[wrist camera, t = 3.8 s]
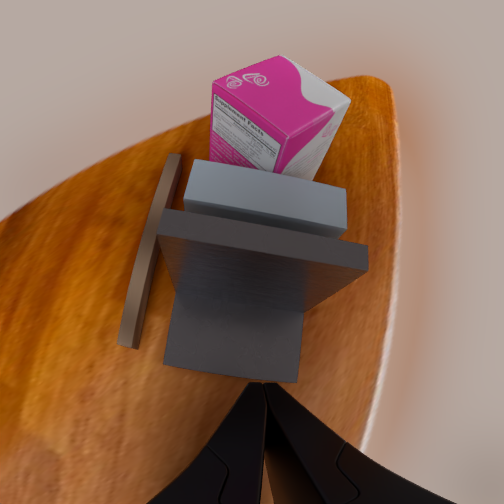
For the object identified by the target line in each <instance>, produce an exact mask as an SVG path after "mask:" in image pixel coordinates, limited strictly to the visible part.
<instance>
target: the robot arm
mask: <svg viewBox="0 0 504 504" xmlns="http://www.w3.org/2000/svg"><path fill="white" fill-rule="evenodd" d="M264 459H265V463H266V468H267V473H268V477H269V482H270V486H271V491H272V495H273V500H274V504H456V503H454V502H452V501H450V500H447V499H445V498H443V497H441V496H438V495H437V494H434V493H432V492H430V491H428V490H426V489H424V488H422V487H420V486H418V485H416V484H414V483H412V482H410V481H408V480H406V479H405V478H403V477H401V476H399V475H397V474H395V473H394V472H392V471H390V470H388V469H386V468H385V467H383V466H381V465H380V464H378V463H377V462H375V461H373V460H372V459H370V458H369V457H367V456H366V455H364V454H363V453H362V452H360V451H359V450H357V449H356V448H355V447H354V446H352V445H351V444H350V443H348V442H346V441H345V440H344V439H343V438H341V437H340V436H339V435H338V434H336V433H335V432H334V431H333V430H331V429H330V428H329V427H328V426H327V425H325V424H324V423H323V422H322V421H320V420H319V419H318V418H317V417H316V416H314V415H313V414H312V413H311V412H310V411H309V410H307V409H306V408H305V407H304V406H303V405H301V404H300V403H299V402H298V401H297V400H296V399H295V398H293V397H292V396H291V395H290V394H289V393H288V392H287V391H285V390H284V389H283V388H282V387H281V386H280V385H279V384H277V383H263V384H262V383H260V382H249V383H248V384H247V386H246V387H245V389H244V390H243V392H242V393H241V395H240V396H239V398H238V399H237V400H236V402H235V403H234V405H233V406H232V408H231V409H230V411H229V412H228V413H227V415H226V416H225V418H224V419H223V421H222V422H221V423H220V425H219V426H218V428H217V429H216V430H215V432H214V433H213V435H212V436H211V437H210V439H209V440H208V441H207V443H206V444H205V446H203V448H202V449H201V450H200V452H199V453H198V454H197V456H196V457H195V458H194V459H193V460H192V462H191V463H190V464H189V465H188V466H187V467H186V468H185V469H184V470H183V471H182V472H181V473H180V474H179V475H178V476H177V477H176V478H175V479H174V480H173V481H172V482H171V483H170V484H168V485H167V486H166V487H165V488H164V489H163V490H162V491H160V492H159V493H158V494H157V495H156V496H155V497H153V498H152V499H151V500H150V501H149V502H148V503H146V504H260V499H261V488H262V476H263V464H264Z"/></svg>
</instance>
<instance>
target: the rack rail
mask: <svg viewBox="0 0 504 504" xmlns="http://www.w3.org/2000/svg"><path fill="white" fill-rule="evenodd" d="M181 172H182V159H181V154H173V153H169V155H168V158H167V161H166V164H165V166H164V169H163V172H162V175H161V178H160V181H159V184H158V187H157V190H156V193H155V196H154V199H153V202H152V205H151V208H150V212H149V215H148V218H147V221H146V225H145V228H144V232H143V235H142V239H141V242H140V246H139V249H138V253H137V257H136V260H135V264H134V268H133V272H132V276H131V280H130V284H129V288H128V293H127V297H126V301H125V306H124V310H123V315H122V320H121V325H120V330H119V335H118V340H117V344H118V345H121V346H125V347H129V348H133V349H137V350H138V347H139V341H140V336H141V331H142V325H143V320H144V315H145V310H146V306H147V301H148V296H149V292H150V287H151V283H152V278H153V274H154V270H155V266H156V261H157V257H158V253H159V249H160V244H159V241H158V238H157V235H156V233H157V229H158V225H159V222H160V218H161V215H162V211H163V208H167V209H170V208H171V205H172V201H173V198H174V195H175V191H176V188H177V185H178V181H179V178H180V175H181Z"/></svg>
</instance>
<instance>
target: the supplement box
mask: <svg viewBox="0 0 504 504" xmlns="http://www.w3.org/2000/svg"><path fill="white" fill-rule="evenodd" d="M350 103H351V100H350V98H348V97H347V96H345V95H344V94H343V93H341V92H340V91H338V90H337V89H335V88H334V87H332V86H331V85H329V84H327V83H326V82H324V81H323V80H321V79H320V78H318V77H317V76H315V75H313V74H312V73H310V72H309V71H307V70H306V69H304V68H303V67H301V66H300V65H298V64H296V63H295V62H293V61H292V60H290V59H288V58H286V57H285V56H283V55H278V56H276V57H273V58H270V59H267V60H264V61H262V62H259V63H256V64H254V65H251V66H249V67H247V68H244V69H241V70H239V71H236V72H234V73H231V74H229V75H226V76H224V77H222V78H220V79H217V80H215V81H213V83H212V102H211V125H210V161H211V162H217V163H223V164H229V165H235V166H240V167H246V168H251V169H257V170H262V171H267V172H272V173H277V174H282V175H287V176H291V177H296V178H301V179H305V180H309V181H312V180H313V178H314V176H315V174H316V172H317V170H318V168H319V166H320V164H321V162H322V160H323V158H324V156H325V154H326V152H327V150H328V148H329V146H330V144H331V142H332V140H333V138H334V136H335V134H336V131H337V129H338V127H339V125H340V123H341V121H342V119H343V117H344V115H345V113H346V111H347V109H348V107H349V105H350Z"/></svg>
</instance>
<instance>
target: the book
mask: <svg viewBox="0 0 504 504" xmlns="http://www.w3.org/2000/svg"><path fill="white" fill-rule="evenodd" d="M183 200H184V210H185V212H191V213H197V214H203V215H209V216H215V217H221V218H226V219H232V220H238V221H243V222H249V223H254V224H260V225H265V226H271V227H276V228H281V229H287V230H292V231H297V232H302V233H308V234H313V235H318V236H323V237H328V238H333V239H338V238H339V237H340V236H341V235H342V234H343V233H344V232H345V231H346V230H347V204H346V189H343V188H339V187H335V186H331V185H327V184H322V183H318V182H314V181H309V180H305V179H301V178H296V177H291V176H287V175H282V174H277V173H272V172H267V171H262V170H257V169H251V168H246V167H240V166H235V165H229V164H223V163H217V162H211V161H205V160H198V159H195V160H194V163H193V166H192V170H191V173H190V177H189V180H188V184H187V187H186V191H185V194H184V198H183Z"/></svg>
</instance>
